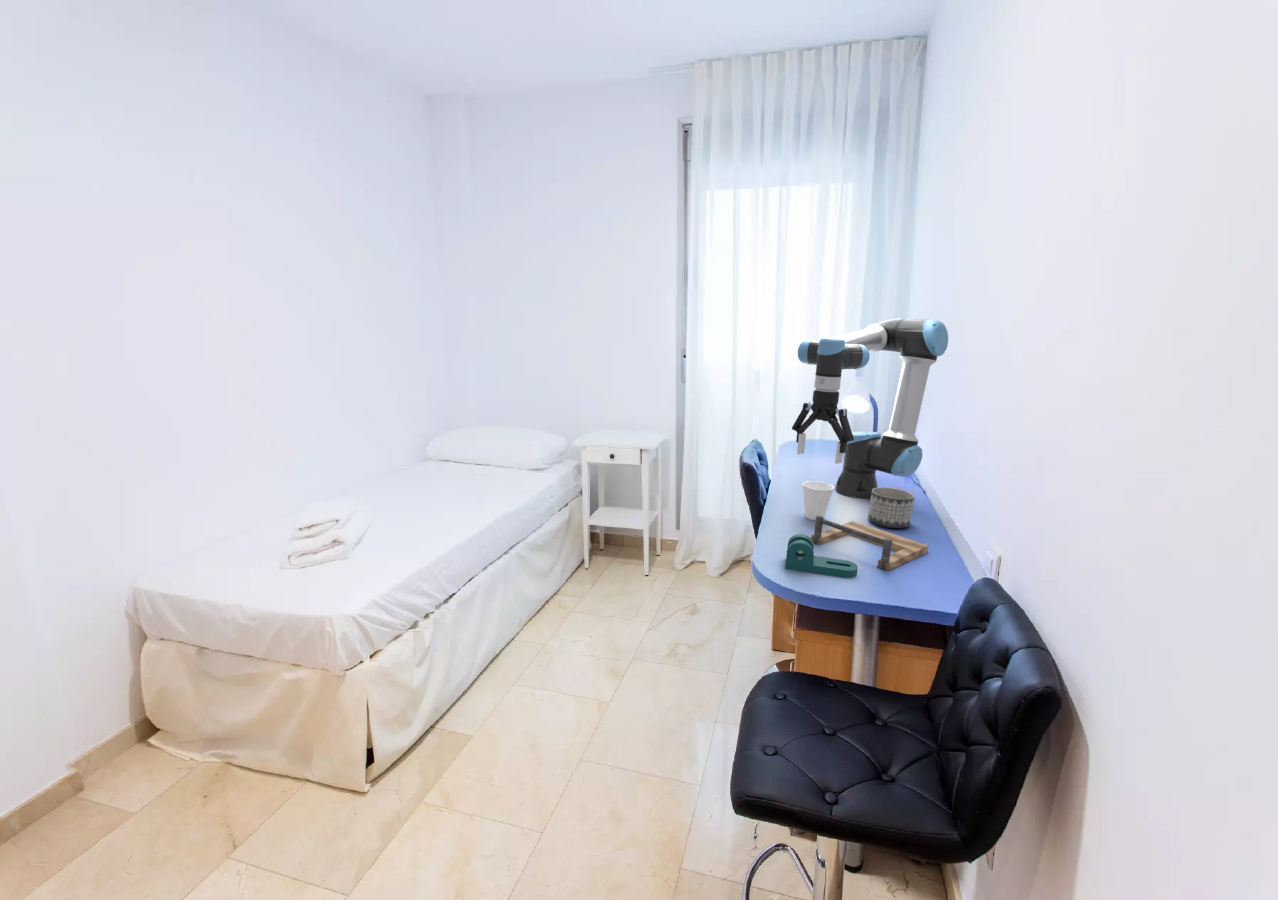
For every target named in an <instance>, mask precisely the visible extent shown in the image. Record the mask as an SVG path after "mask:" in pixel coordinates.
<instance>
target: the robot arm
mask: <svg viewBox="0 0 1278 900" xmlns="http://www.w3.org/2000/svg"><path fill="white" fill-rule="evenodd" d="M948 344H949V332H948V329H947V327H946V325H945V324H944V323H943V322H942V321H941V320H935V319H929V318H925V319H923V318H921V319H919V318H903V317H902V318H901V317H900V318H893V319H888V320H883V321H880V322H876V323H873V324H869V325H868V326H866V327H865V328H864V329H860V330H857V331H856V330H855V331H853V332H849V333H844V334H840V335H837V336H833V337H821V338H820V339H819V340H813V339H812V340H811V339H810V340H804V341H802V342H801V343H800V344H799V346H798V348H797V358H798V360H799V362H801V363H802V364H807V365H813V366H816V367H815V373H814V383H813V384H814V385H813V388H814V390H813V393H812V403H811V402H804V403H803V404H802V409H801V411H800V413H799V414H798V416H797V418H796V419H795V421H794V423H793V425H792V427H791V430H792V431H795V432H796V443H797V451H796V454H797V455H802V454H805V447H806V437H807V432H806V430H807V429H808V428H809V427H811V425H812V424H813V423H814V422H815V421H817V420H818V421H823V422H828V423H829V424H830V426H831V427H832V430H833V431H834V433H835V435H836V437H837V438H838V442H837V443H836V449H835V450H836V451H835V460H834V464H836V465H837V464H843V465H842V470H841V473H840V475H839V477H838V479H837V481H836V483H835V487H834V489H835V491H836V493H839V494H840V495H844V496H847V497H851V498H859V499H871V493H872V489H873V488H877V487H879V486H878V482H877V476H876V474H877V473H876V472H877V471H878V472H881V473H885V474H888V475H891V476H895V477H896V476H897V477H901V478H907V477H910V476H912V475H913V474H914V473H915V472H916V471H917V470H918V469H919V467H920V465H921V463H922V459H923V456H924V455H923V449H922V447H920V446H919V445H918V444H919V439H918V437H917V436H916V432H917V427H918V426H917V425H918V422H919V417H920V414H921V410H922V404H923V401H924V396H925V392H926V386H927V381H928V377H929V373H930V368H931V366H932V365H934V364H936V362H937V359H938V357H940V356H943V355H944V354H945V352H946V350H947V349H948ZM870 351H871V352H879V351H887V352H897V353H899V358H900V359H901V362H902V367H901V371H900V376H899V381H898V384H897V389H896V394H895V399H894V404H893V408H892V409H893V410H892V414H891V418H890V422H889V426H888V427H889V428H888V430H887V431H885V432H884V433H883V434H882V433H880V432H877V431H854V432H853V431H852V429H851V426H850V422H849V419H848V410H847V408H838V404H839V398H840V392H839V390H841V383H842V382H841V380H842V372H843V370H858V369H862V368H864V367H866V366H867V364H869V360H870ZM810 411H812V413H811V414H810V415H809V412H810ZM808 415H809V416H808ZM807 416H808V418H807ZM837 416H838V417H837ZM806 418H807V419H806ZM805 432H806V433H805ZM881 434H882V435H881Z"/></svg>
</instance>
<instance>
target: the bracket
mask: <svg viewBox="0 0 1278 900" xmlns="http://www.w3.org/2000/svg"><path fill="white" fill-rule="evenodd" d="M814 544H815V543H813V541H812V540H811V537H810V536H808V535H807V534H803V533H797V534H794V535H792V536H790V538H789V540H788V542H787V548H786V556H785V567H784V570H789V571H797V572H803V573H804V572H805V573H809V574H810V573H811V574H816V575H825V576H832V577H837V578H843V579H844V578H846V579H853V578H855V576H856V577H857V575H858V568H859V567H858V565H857V564H856V562H854V561H849V560H847V559H841V558H840V559H839V558H834V557H833V558H832V557H825V556H819V555H815V553H814V551H815V548H814Z"/></svg>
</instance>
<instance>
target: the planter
mask: <svg viewBox="0 0 1278 900" xmlns="http://www.w3.org/2000/svg"><path fill="white" fill-rule="evenodd" d="M915 497H916V496H915V494H914V493H912V492H910V491H907V490H905V489H900V488H895V487H889V486H888V487H887V486H878V487H877V488H873V489H872V493H871V498H870V501H869V508H868V516H867V519H868V520H869V521H870V522H872V523H874V524H876V525H879V526H881V527H883V528H889V529H901V528H907V527H910V525H911V522H912V521H911V520H912V516H913V509H914V502H915Z"/></svg>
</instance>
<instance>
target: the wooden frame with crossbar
mask: <svg viewBox="0 0 1278 900" xmlns="http://www.w3.org/2000/svg"><path fill="white" fill-rule="evenodd" d="M823 525H825V526H828V527H830V528H829V529H826V530H824V531H823ZM847 534H848V535H849V534H850V535H849V536H852V537H855V538H858V539H861V540H863V541H866V542H868V543H869V542H870V543H872V544H874V545H877V546H881V547H882V550H881V551H882V552H881V558H879V559H878V560H877V566H876V567H877V568H879V569H881V570H884V571H886V572H888V571H891V570H893V569H896V568H897V567H899V566H902V565H903V564H906V563H908V562H909V561H912V560H914V559H917V558H918V557H920V556H922V555H925V554H926V553H928V552H929V546H930V545H928V544H924V543H922V542H918V541H917V540H912V539H909V538H907V537H903V536H900V535H897V534H895V533H891V532H890V531H889V532H888V531H885V530H882V529H880V528H876V527H873V526H870V525H867V524H864V523H861V522H858V521H854V520H851V521H849V522H846V523H843V524H839V523H836V522H833V521H831V520H827V519H825V518H824V519H823V516H816V520H815V523H814V533H813V534H811V537H810V539H811V540H812V541H813V544H816V545H818V546H821V545H823V544H826V543H829V542H831V541H834V540H837V539H839V538H842V537H845V536H848V535H847ZM891 551H895V552H893V553H892V552H891Z"/></svg>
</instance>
